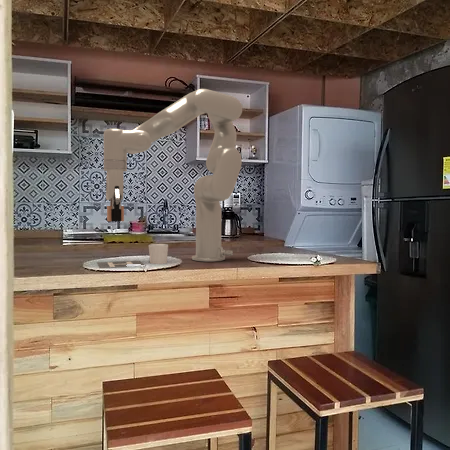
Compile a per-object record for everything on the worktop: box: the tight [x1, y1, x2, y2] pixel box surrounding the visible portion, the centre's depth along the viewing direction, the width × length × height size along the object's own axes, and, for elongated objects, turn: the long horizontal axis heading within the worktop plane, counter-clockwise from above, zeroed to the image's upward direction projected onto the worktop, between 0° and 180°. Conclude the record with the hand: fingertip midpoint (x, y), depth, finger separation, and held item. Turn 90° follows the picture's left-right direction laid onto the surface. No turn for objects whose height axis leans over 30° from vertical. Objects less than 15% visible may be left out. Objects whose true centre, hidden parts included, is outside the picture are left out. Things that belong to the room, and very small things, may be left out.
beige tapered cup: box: [148, 243, 169, 265], centre depth 157 cm, size 7×7×7 cm
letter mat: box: [96, 260, 145, 269], centre depth 153 cm, size 15×14×1 cm
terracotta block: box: [106, 205, 125, 222], centre depth 151 cm, size 5×5×5 cm
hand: (115, 220), depth 152 cm, fingers closed on terracotta block, 5 cm apart
